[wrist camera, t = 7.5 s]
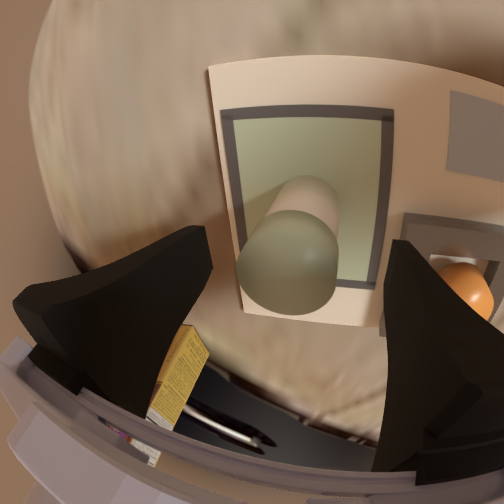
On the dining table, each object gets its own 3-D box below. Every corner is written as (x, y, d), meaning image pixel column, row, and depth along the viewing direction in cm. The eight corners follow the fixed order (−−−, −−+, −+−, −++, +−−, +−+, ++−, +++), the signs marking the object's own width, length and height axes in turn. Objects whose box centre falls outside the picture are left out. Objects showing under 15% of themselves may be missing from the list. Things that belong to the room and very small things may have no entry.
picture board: (539, 103, 6) (544, 104, 6) (477, 327, 15) (479, 332, 14) (211, 66, 12) (207, 66, 11) (246, 308, 20) (243, 313, 20)
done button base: (518, 228, 10) (527, 239, 9) (476, 326, 14) (480, 338, 14) (403, 212, 13) (408, 223, 12) (379, 322, 17) (379, 336, 16)
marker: (342, 174, 12) (340, 238, 8) (339, 236, 14) (331, 320, 10) (273, 172, 14) (229, 230, 9) (277, 232, 15) (242, 308, 11)
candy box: (146, 344, 29) (78, 451, 17) (127, 317, 27) (47, 429, 15) (213, 355, 26) (143, 493, 13) (195, 324, 23) (107, 477, 11)
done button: (491, 264, 11) (504, 287, 9) (469, 316, 13) (476, 340, 12) (434, 259, 12) (443, 283, 11) (416, 314, 14) (420, 339, 13)
